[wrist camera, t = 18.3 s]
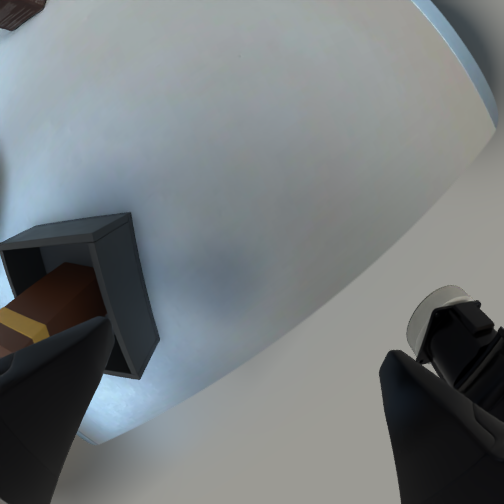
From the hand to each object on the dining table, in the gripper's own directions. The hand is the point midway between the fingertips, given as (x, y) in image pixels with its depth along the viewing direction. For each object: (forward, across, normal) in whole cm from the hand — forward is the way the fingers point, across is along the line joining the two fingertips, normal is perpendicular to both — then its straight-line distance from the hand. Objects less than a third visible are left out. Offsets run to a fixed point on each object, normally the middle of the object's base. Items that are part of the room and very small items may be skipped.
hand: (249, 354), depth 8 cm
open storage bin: (+13, +15, +7) cm, 21 cm away
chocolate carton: (+12, +15, +7) cm, 21 cm away
